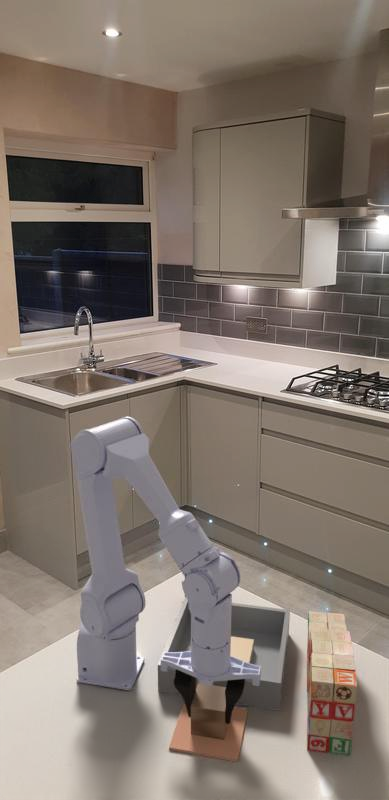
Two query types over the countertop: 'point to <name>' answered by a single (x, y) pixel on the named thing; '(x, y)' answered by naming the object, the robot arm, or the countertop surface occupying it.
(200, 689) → the walnut block
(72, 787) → the countertop surface
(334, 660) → the stack of blocks
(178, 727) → the terracotta mat
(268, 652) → the grey crate
